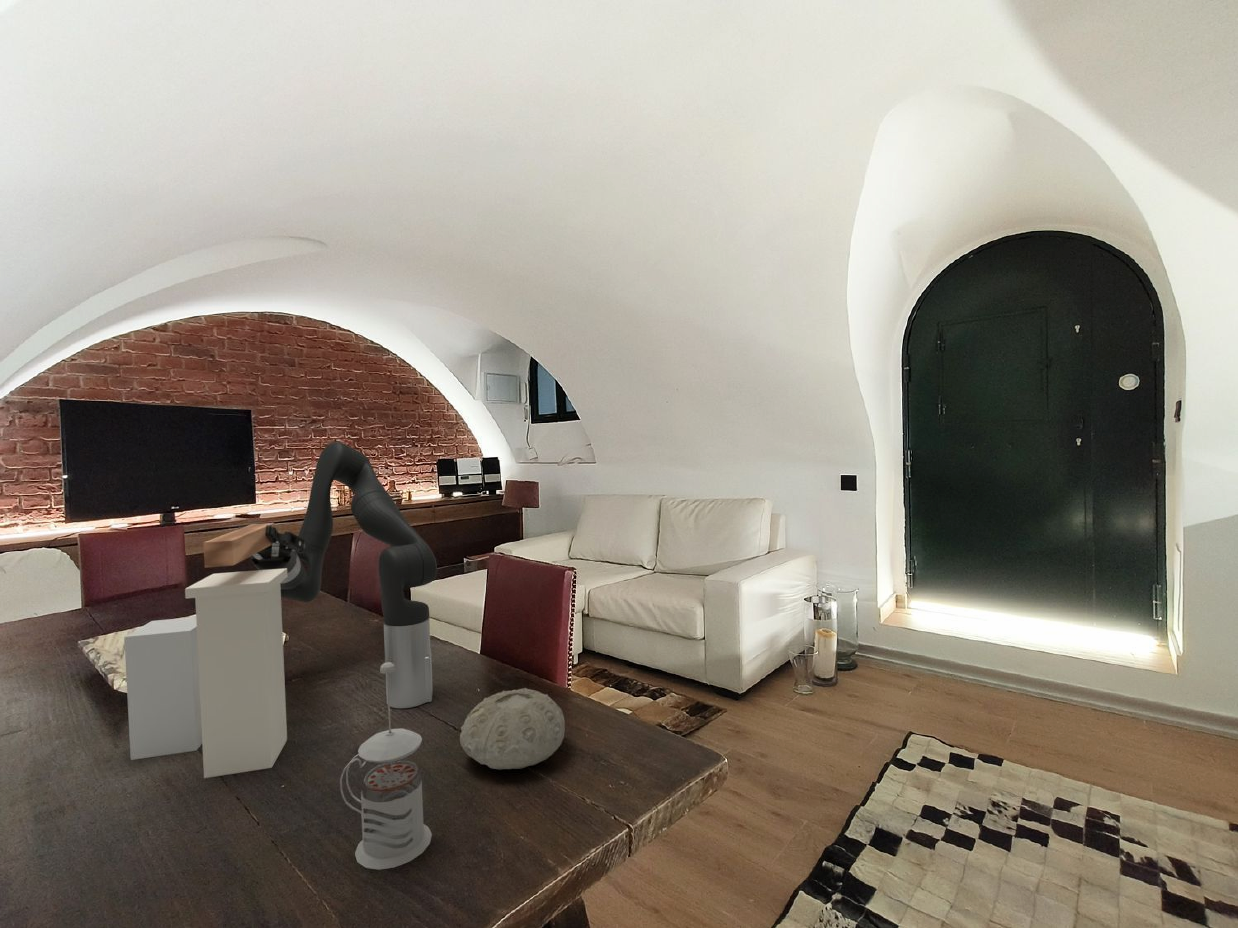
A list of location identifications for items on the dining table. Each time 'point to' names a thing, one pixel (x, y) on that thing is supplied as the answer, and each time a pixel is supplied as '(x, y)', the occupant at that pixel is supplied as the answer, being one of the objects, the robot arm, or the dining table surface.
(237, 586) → the cream stand
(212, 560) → the terracotta bar
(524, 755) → the decorative shell
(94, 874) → the dining table surface
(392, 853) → the french press
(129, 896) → the dining table surface
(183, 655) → the grey block
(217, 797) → the dining table surface
